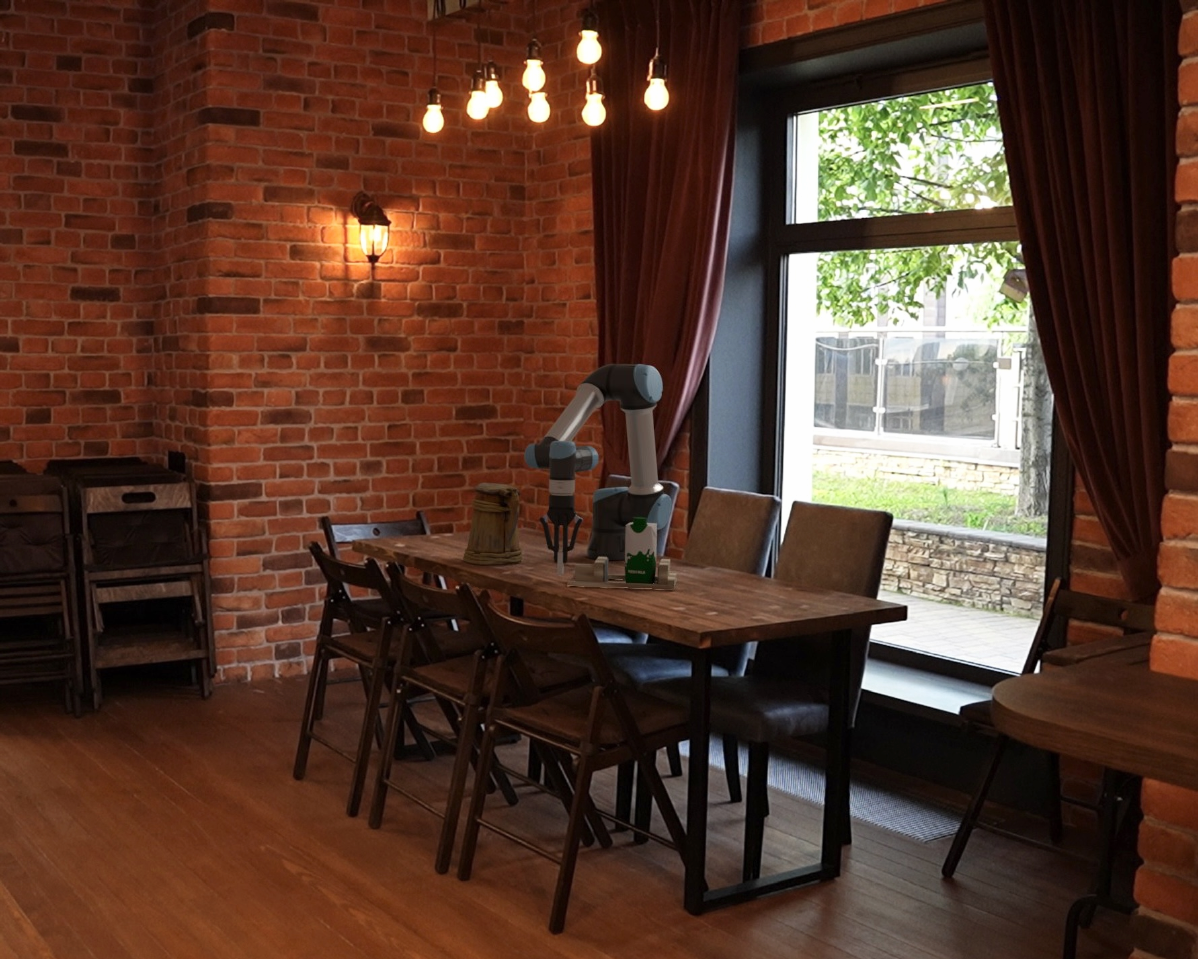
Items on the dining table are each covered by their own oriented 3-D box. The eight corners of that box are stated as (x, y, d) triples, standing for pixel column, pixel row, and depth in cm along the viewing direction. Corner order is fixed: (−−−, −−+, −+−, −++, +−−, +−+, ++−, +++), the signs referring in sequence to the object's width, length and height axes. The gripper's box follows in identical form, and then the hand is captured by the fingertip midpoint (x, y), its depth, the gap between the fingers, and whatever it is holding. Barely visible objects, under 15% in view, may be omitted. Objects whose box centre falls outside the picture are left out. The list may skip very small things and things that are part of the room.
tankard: (498, 555, 450) (499, 480, 448) (542, 565, 433) (543, 486, 430) (452, 560, 438) (453, 482, 436) (496, 570, 421) (497, 489, 418)
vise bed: (573, 577, 409) (574, 554, 408) (676, 581, 406) (677, 558, 405) (567, 586, 393) (567, 562, 392) (674, 590, 390) (674, 566, 389)
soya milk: (621, 586, 396) (623, 517, 394) (629, 581, 404) (631, 514, 403) (651, 588, 393) (652, 519, 392) (658, 583, 402) (660, 516, 400)
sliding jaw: (578, 578, 407) (578, 555, 406) (608, 579, 406) (608, 556, 405) (573, 585, 395) (573, 561, 394) (604, 586, 394) (604, 563, 393)
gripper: (537, 494, 396) (536, 575, 398) (582, 496, 395) (580, 576, 397) (541, 492, 403) (540, 571, 406) (585, 493, 402) (583, 572, 404)
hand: (560, 573), depth 401 cm, fingers closed
